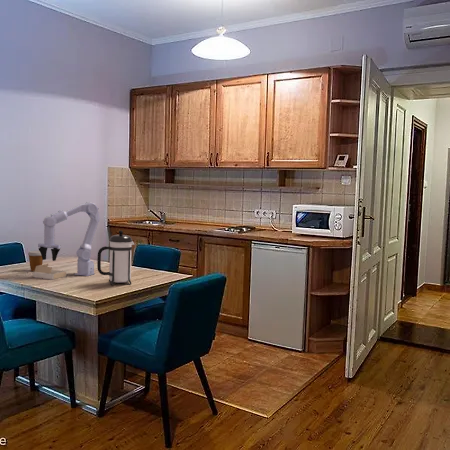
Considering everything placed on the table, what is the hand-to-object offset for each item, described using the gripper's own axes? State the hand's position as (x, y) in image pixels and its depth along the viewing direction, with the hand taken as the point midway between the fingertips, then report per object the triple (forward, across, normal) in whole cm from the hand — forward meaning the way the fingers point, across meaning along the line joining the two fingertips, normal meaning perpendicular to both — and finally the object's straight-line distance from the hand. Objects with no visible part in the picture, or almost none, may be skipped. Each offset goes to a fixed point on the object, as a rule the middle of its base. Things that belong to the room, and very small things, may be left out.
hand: (49, 260), depth 285 cm
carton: (+10, 0, 0) cm, 10 cm away
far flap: (+5, -5, 0) cm, 7 cm away
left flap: (+5, +1, -5) cm, 7 cm away
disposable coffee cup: (+10, -20, +12) cm, 25 cm away
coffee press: (+10, +44, +3) cm, 46 cm away
